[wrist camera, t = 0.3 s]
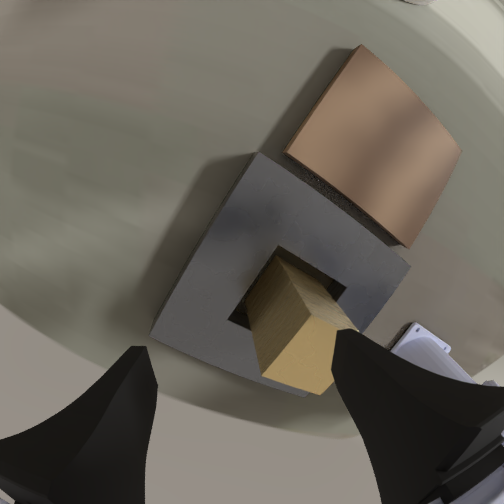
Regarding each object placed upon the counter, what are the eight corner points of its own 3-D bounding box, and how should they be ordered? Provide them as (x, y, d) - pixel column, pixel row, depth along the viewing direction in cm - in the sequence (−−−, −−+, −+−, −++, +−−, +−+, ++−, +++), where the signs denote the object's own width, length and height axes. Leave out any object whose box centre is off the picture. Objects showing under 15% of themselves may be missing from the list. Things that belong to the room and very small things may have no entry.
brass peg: (319, 281, 21) (367, 343, 13) (288, 322, 22) (320, 395, 14) (275, 255, 20) (311, 314, 12) (244, 300, 21) (261, 375, 13)
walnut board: (453, 150, 19) (462, 151, 18) (400, 244, 21) (409, 249, 20) (354, 49, 16) (361, 44, 14) (282, 152, 18) (286, 152, 16)
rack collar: (397, 257, 21) (411, 266, 19) (298, 382, 24) (304, 397, 22) (254, 152, 17) (258, 151, 15) (153, 321, 20) (148, 336, 18)
